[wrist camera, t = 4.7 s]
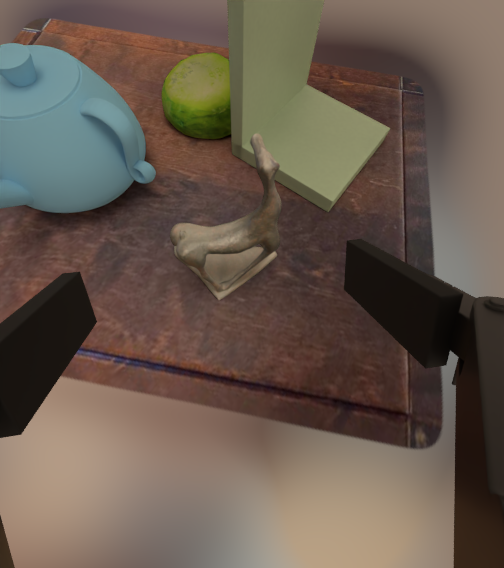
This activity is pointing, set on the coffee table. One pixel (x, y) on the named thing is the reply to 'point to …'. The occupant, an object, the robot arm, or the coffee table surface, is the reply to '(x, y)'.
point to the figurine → (234, 237)
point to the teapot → (64, 134)
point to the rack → (292, 101)
